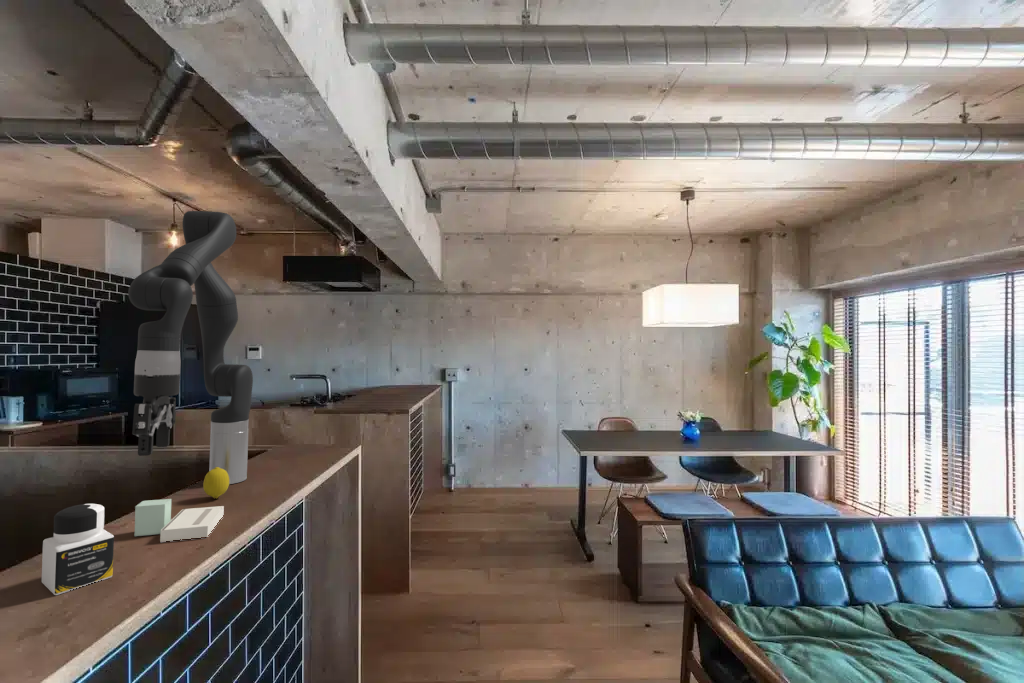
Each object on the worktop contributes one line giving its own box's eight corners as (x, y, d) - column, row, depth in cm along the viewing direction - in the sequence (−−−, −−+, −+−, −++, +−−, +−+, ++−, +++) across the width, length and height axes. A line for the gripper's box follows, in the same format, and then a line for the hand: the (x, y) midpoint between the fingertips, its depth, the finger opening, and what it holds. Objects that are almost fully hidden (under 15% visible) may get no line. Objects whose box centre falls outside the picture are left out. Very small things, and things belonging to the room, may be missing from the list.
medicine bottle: (54, 596, 70) (57, 518, 70) (40, 583, 74) (43, 509, 74) (113, 577, 76) (115, 505, 76) (97, 565, 80) (100, 497, 80)
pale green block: (141, 529, 95) (142, 500, 95) (170, 527, 97) (171, 498, 97) (133, 536, 92) (135, 506, 92) (163, 533, 93) (164, 504, 93)
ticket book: (182, 520, 101) (182, 508, 101) (223, 516, 104) (223, 505, 104) (160, 542, 90) (160, 529, 90) (207, 537, 92) (207, 525, 92)
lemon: (233, 495, 118) (234, 464, 118) (217, 502, 112) (219, 470, 112) (214, 494, 118) (215, 463, 118) (197, 501, 113) (198, 469, 113)
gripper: (151, 371, 100) (147, 444, 100) (119, 373, 87) (114, 459, 86) (190, 371, 103) (187, 443, 102) (165, 374, 89) (161, 457, 89)
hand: (154, 450), depth 94 cm, fingers open, 8 cm apart
